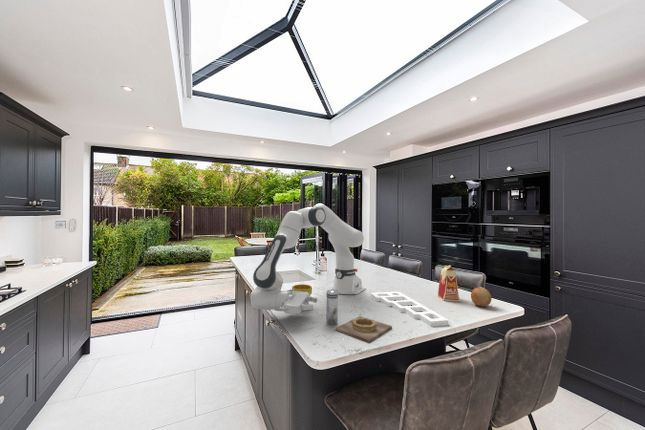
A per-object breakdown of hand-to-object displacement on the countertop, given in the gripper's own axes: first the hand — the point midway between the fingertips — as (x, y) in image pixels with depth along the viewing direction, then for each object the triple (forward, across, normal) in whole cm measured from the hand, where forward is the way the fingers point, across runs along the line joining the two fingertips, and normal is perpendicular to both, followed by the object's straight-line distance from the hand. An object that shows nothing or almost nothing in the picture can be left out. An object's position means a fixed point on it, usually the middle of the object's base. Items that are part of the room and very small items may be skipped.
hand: (315, 303), depth 123 cm
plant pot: (-11, +19, +8) cm, 23 cm away
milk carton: (+68, +50, +8) cm, 85 cm away
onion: (+82, +40, +8) cm, 92 cm away
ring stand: (+22, -4, +8) cm, 24 cm away
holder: (+41, +26, +9) cm, 50 cm away
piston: (+8, 0, +8) cm, 11 cm away
